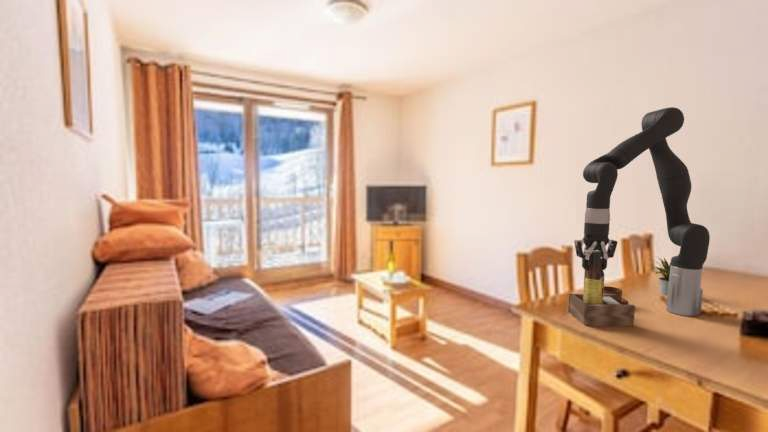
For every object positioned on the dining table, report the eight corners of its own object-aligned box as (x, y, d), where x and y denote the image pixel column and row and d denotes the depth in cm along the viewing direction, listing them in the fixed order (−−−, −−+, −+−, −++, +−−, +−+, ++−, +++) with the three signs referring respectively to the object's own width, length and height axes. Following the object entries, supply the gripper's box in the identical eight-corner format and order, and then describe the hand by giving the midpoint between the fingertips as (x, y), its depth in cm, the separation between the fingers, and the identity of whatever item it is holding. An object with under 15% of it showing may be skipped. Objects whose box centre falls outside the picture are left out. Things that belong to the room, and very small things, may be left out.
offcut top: (609, 306, 139) (610, 296, 138) (620, 314, 131) (620, 304, 131) (597, 305, 139) (598, 296, 139) (607, 313, 131) (608, 304, 131)
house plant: (650, 285, 174) (653, 250, 172) (688, 292, 164) (692, 255, 162) (643, 293, 163) (646, 255, 161) (684, 300, 154) (688, 261, 152)
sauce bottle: (605, 310, 131) (609, 253, 129) (585, 309, 132) (589, 253, 130) (599, 303, 138) (602, 249, 135) (580, 302, 139) (583, 249, 136)
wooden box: (612, 312, 142) (613, 293, 141) (633, 325, 129) (635, 305, 128) (568, 311, 142) (569, 293, 141) (585, 325, 130) (586, 305, 129)
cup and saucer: (587, 303, 151) (588, 288, 150) (599, 297, 159) (600, 282, 158) (621, 312, 142) (623, 296, 141) (632, 305, 150) (633, 289, 149)
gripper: (611, 219, 135) (608, 266, 137) (570, 219, 135) (568, 266, 137) (624, 222, 127) (621, 272, 130) (581, 222, 128) (578, 272, 130)
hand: (594, 269), depth 133 cm, fingers closed on sauce bottle, 5 cm apart
